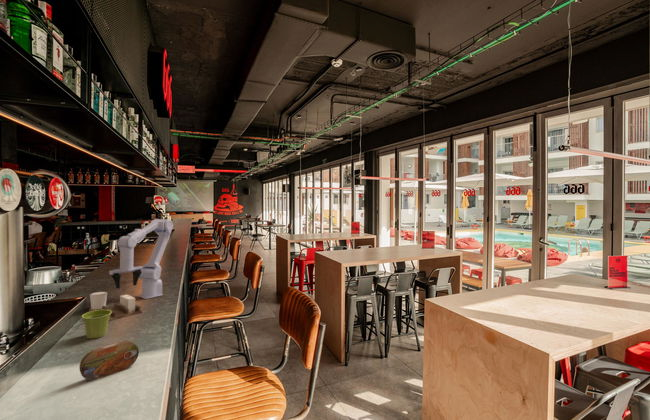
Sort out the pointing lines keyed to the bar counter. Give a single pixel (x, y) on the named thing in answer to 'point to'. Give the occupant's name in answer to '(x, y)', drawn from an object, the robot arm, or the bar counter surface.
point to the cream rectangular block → (128, 302)
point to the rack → (120, 311)
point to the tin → (108, 360)
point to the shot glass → (98, 300)
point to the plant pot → (96, 323)
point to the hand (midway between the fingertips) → (126, 286)
